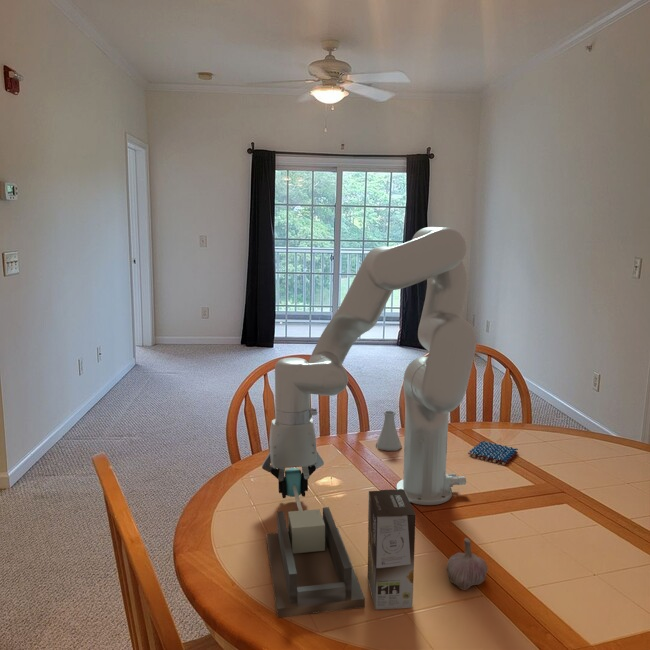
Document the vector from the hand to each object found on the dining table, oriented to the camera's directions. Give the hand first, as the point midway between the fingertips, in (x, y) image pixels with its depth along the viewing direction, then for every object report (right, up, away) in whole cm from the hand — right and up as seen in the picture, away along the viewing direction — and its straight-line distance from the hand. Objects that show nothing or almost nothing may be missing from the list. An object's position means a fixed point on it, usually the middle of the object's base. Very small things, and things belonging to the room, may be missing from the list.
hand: (293, 493), depth 124 cm
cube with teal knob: (+2, -2, -10) cm, 11 cm away
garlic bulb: (+31, -7, -27) cm, 42 cm away
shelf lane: (+5, -6, -25) cm, 26 cm away
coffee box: (+18, -7, -30) cm, 36 cm away
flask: (+25, +3, +32) cm, 40 cm away
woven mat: (+52, +2, +27) cm, 59 cm away
